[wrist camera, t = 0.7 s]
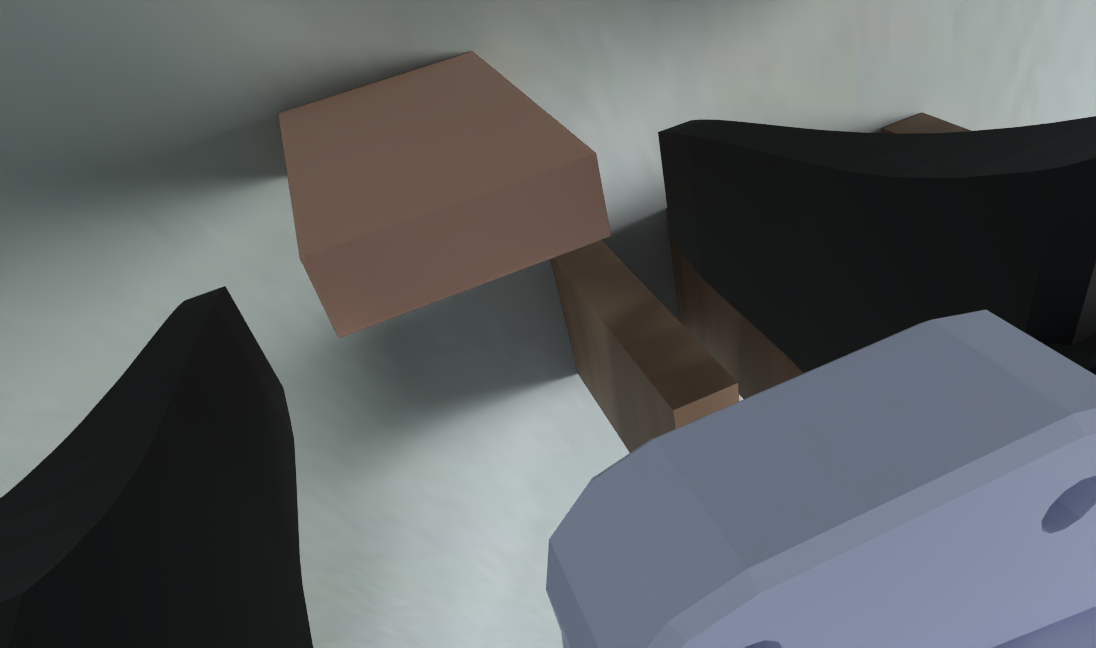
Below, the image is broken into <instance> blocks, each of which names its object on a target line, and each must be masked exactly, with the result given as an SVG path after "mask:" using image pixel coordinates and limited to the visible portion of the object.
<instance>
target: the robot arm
mask: <svg viewBox="0 0 1096 648" xmlns="http://www.w3.org/2000/svg"><path fill="white" fill-rule="evenodd" d="M658 135H659V143H660V151H661V160H662V168H663V176H664V184H665V192H666V201H667V209H668V217H669V225H670V233H671V239H672V240H673V242H674V243H675V244H676V246H677V247H678V248H679V250H680V251H681V252H682V254H683V255H684V256H685V258H686V259H687V260H688V262H689V263H690V264H691V265H692V266H693V268H694V269H695V270H696V271H697V273H698V274H699V275H700V276H701V277H702V278H703V279H704V280H705V281H706V282H707V283H708V284H709V285H710V286H711V287H712V288H713V289H714V290H715V291H716V292H717V293H718V294H720V295H721V296H722V297H723V298H724V299H725V300H726V301H727V302H728V303H729V304H730V305H731V306H733V307H734V308H735V309H736V310H737V311H738V312H739V313H740V314H741V315H742V316H744V317H745V318H746V319H747V320H748V321H749V322H750V323H751V324H752V325H753V326H755V327H756V328H757V329H758V330H759V331H760V332H761V333H762V334H763V335H764V336H766V337H767V338H768V339H769V340H770V341H771V342H772V343H773V344H774V345H776V346H777V347H778V348H779V349H780V350H781V351H782V352H783V353H784V354H785V355H786V356H787V357H788V358H789V359H790V360H791V361H792V362H793V363H794V364H795V365H796V366H797V367H798V368H799V369H800V370H801V371H802V372H803V373H804V374H802V375H799V376H797V377H795V378H792V379H790V380H788V381H786V382H783V383H781V384H779V385H776V386H774V387H772V388H769V389H767V390H765V391H762V392H760V393H758V394H755V395H753V396H751V397H749V398H746V399H744V400H742V401H739V402H737V403H735V404H732V405H730V406H728V407H725V408H723V409H721V410H718V411H716V412H714V413H711V414H709V415H707V416H705V417H702V418H700V419H698V420H695V421H693V422H691V423H688V424H686V425H684V426H681V427H679V428H677V429H674V430H672V431H670V432H668V433H665V434H663V435H661V436H658V437H656V438H654V439H651V440H649V441H648V442H646V443H645V444H643V445H642V446H640V447H639V448H637V449H636V450H634V451H633V452H631V453H630V454H628V455H627V456H625V457H624V458H622V459H621V460H619V461H617V462H616V463H614V464H613V465H611V466H610V467H608V468H607V469H605V470H604V471H602V472H601V473H599V474H598V475H596V476H595V477H593V478H592V479H591V481H590V482H589V483H588V485H587V486H586V488H585V489H584V491H583V492H582V493H581V495H580V496H579V498H578V499H577V501H576V502H575V503H574V505H573V506H572V508H571V509H570V511H569V512H568V513H567V515H566V516H565V518H564V519H563V520H562V522H561V523H560V525H559V526H558V528H557V529H556V530H555V532H554V533H553V535H552V536H551V538H550V539H549V550H548V567H547V583H546V591H547V593H548V596H549V599H550V602H551V604H552V607H553V610H554V613H555V616H556V618H557V621H558V624H559V627H560V629H561V632H562V640H563V648H1096V116H1094V117H1088V118H1081V119H1075V120H1068V121H1062V122H1055V123H1048V124H1040V125H1031V126H1023V127H1014V128H1003V129H991V130H979V131H967V132H949V133H900V134H887V133H859V132H842V131H827V130H815V129H804V128H794V127H784V126H775V125H766V124H756V123H747V122H737V121H724V120H691V121H688V122H685V123H683V124H680V125H677V126H674V127H671V128H669V129H666V130H663V131H660V132H658ZM0 648H313V644H312V638H311V633H310V627H309V621H308V615H307V609H306V603H305V597H304V592H303V586H302V576H301V566H300V554H299V531H298V509H297V486H296V466H295V448H294V437H293V432H292V426H291V421H290V416H289V412H288V407H287V403H286V398H285V394H284V389H283V386H282V385H281V383H280V381H279V379H278V378H277V376H276V374H275V372H274V371H273V369H272V367H271V365H270V364H269V362H268V360H267V358H266V357H265V355H264V353H263V351H262V350H261V348H260V346H259V344H258V343H257V341H256V339H255V337H254V336H253V334H252V332H251V330H250V329H249V327H248V325H247V323H246V322H245V320H244V318H243V316H242V315H241V313H240V311H239V309H238V308H237V306H236V304H235V302H234V301H233V299H232V297H231V295H230V294H229V292H228V290H227V288H226V287H225V286H224V287H222V288H219V289H216V290H213V291H210V292H207V293H205V294H202V295H199V296H196V297H193V298H191V299H188V300H185V301H184V302H182V303H181V304H180V305H179V306H178V307H177V308H176V309H175V310H174V311H173V313H172V314H171V315H170V316H169V317H168V318H167V320H166V321H165V322H164V323H163V325H162V326H161V327H160V328H159V330H158V331H157V332H156V333H155V335H154V336H153V337H152V339H151V340H150V341H149V342H148V344H147V345H146V346H145V347H144V349H143V350H142V351H141V352H140V354H139V355H138V356H137V357H136V359H135V360H134V361H133V362H132V364H131V365H130V366H129V367H128V369H127V370H126V371H125V372H124V374H123V375H122V376H121V377H120V379H119V380H118V381H117V382H116V383H115V384H114V385H113V387H112V388H111V389H110V390H109V391H108V392H107V393H106V395H105V396H104V397H103V398H102V399H101V400H100V401H99V403H98V404H97V405H96V406H95V407H94V408H93V409H92V411H91V412H90V413H89V414H88V415H87V416H86V417H85V419H84V420H83V421H82V422H81V423H80V424H79V425H78V426H77V427H76V428H75V429H74V430H73V432H72V433H71V434H70V435H69V436H68V437H67V438H66V439H65V440H64V441H63V442H62V443H61V444H60V445H59V446H58V447H57V448H56V449H55V450H54V451H53V452H52V453H51V454H49V455H48V456H47V457H46V458H45V459H44V460H43V461H42V462H41V463H40V464H39V465H38V466H37V467H36V468H35V469H33V470H32V471H31V472H30V473H29V474H28V475H27V476H26V477H25V478H24V479H23V480H22V481H20V482H19V483H18V484H17V485H16V486H15V487H14V488H12V489H11V490H10V491H9V492H8V493H6V494H5V495H4V496H3V497H1V498H0Z"/></svg>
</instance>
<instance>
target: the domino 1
mask: <svg viewBox="0 0 1096 648" xmlns="http://www.w3.org/2000/svg"><path fill="white" fill-rule="evenodd" d="M278 115H279V122H280V129H281V135H282V142H283V149H284V156H285V162H286V169H287V176H288V183H289V189H290V196H291V203H292V210H293V216H294V223H295V230H296V237H297V243H298V250H299V257H300V260H301V262H302V264H303V266H304V268H305V270H306V272H307V274H308V276H309V278H310V280H311V282H312V284H313V286H314V289H315V291H316V293H317V295H318V297H319V299H320V301H321V303H322V305H323V307H324V309H325V311H326V313H327V315H328V317H329V320H330V322H331V324H332V326H333V328H334V330H335V332H336V334H337V336H338V338H341V337H343V336H346V335H349V334H351V333H354V332H357V331H359V330H362V329H365V328H367V327H370V326H373V325H375V324H378V323H381V322H383V321H386V320H389V319H391V318H394V317H397V316H399V315H402V314H405V313H407V312H410V311H413V310H415V309H418V308H421V307H423V306H426V305H429V304H431V303H434V302H437V301H439V300H442V299H445V298H447V297H450V296H453V295H455V294H458V293H461V292H463V291H466V290H469V289H471V288H474V287H477V286H479V285H482V284H485V283H487V282H490V281H493V280H495V279H498V278H501V277H503V276H506V275H509V274H511V273H514V272H517V271H519V270H522V269H525V268H527V267H530V266H533V265H535V264H538V263H541V262H543V261H546V260H549V259H551V258H554V257H557V256H559V255H562V254H565V253H567V252H570V251H573V250H575V249H578V248H581V247H583V246H586V245H589V244H591V243H594V242H597V241H599V240H602V239H605V238H607V237H610V236H611V234H610V228H609V223H608V217H607V212H606V206H605V200H604V195H603V189H602V184H601V178H600V172H599V167H598V161H597V156H596V153H595V152H594V151H593V150H592V149H591V148H589V147H588V146H587V145H586V144H584V143H583V142H582V141H581V140H580V139H578V138H577V137H576V136H575V135H574V134H572V133H571V132H570V131H569V130H567V129H566V128H565V127H564V126H563V125H561V124H560V123H559V122H558V121H557V120H555V119H554V118H553V117H552V116H550V115H549V114H548V113H547V112H546V111H544V110H543V109H542V108H541V107H540V106H538V105H537V104H536V103H535V102H534V101H532V100H531V99H530V98H529V97H527V96H526V95H525V94H524V93H523V92H521V91H520V90H519V89H518V88H517V87H515V86H514V85H513V84H512V83H510V82H509V81H508V80H507V79H506V78H504V77H503V76H502V75H501V74H500V73H498V72H497V71H496V70H495V69H493V68H492V67H491V66H490V65H489V64H487V63H486V62H485V61H484V60H483V59H481V58H480V57H479V56H478V55H476V54H475V53H474V52H473V51H472V52H469V53H466V54H462V55H459V56H456V57H453V58H450V59H447V60H444V61H441V62H437V63H434V64H431V65H428V66H425V67H422V68H419V69H415V70H412V71H409V72H406V73H403V74H400V75H397V76H394V77H390V78H387V79H384V80H381V81H378V82H375V83H372V84H368V85H365V86H362V87H359V88H356V89H353V90H350V91H347V92H343V93H340V94H337V95H334V96H331V97H328V98H325V99H321V100H318V101H315V102H312V103H309V104H306V105H303V106H300V107H296V108H293V109H290V110H287V111H284V112H281V113H278Z"/></svg>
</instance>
